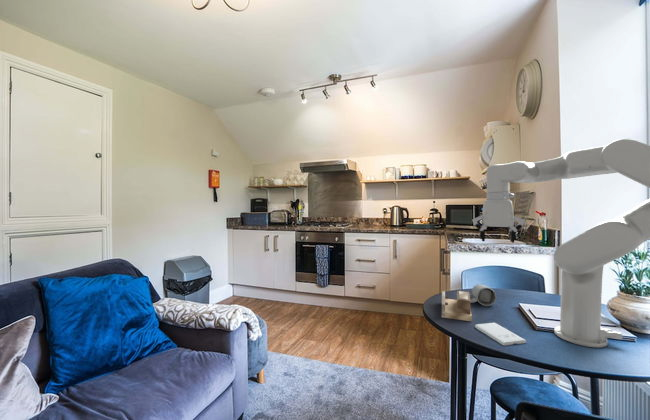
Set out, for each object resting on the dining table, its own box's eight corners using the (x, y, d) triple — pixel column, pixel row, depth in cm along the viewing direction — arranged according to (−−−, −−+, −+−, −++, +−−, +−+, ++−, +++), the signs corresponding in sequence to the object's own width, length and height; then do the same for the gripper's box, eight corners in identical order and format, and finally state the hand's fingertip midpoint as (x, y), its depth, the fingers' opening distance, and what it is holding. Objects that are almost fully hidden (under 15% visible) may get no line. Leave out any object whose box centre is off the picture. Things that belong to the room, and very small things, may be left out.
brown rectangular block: (468, 304, 114) (469, 291, 113) (470, 314, 104) (470, 300, 103) (457, 302, 115) (457, 290, 115) (457, 312, 105) (457, 298, 105)
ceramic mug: (488, 299, 124) (487, 282, 124) (496, 306, 116) (496, 288, 116) (462, 299, 126) (462, 282, 125) (469, 305, 118) (469, 287, 117)
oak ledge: (468, 305, 117) (468, 294, 117) (471, 321, 102) (471, 308, 102) (441, 302, 121) (442, 291, 121) (441, 317, 106) (441, 304, 106)
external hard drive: (495, 326, 99) (526, 344, 87) (474, 329, 98) (503, 347, 85) (495, 322, 99) (526, 339, 87) (474, 324, 98) (503, 342, 85)
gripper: (522, 196, 107) (521, 241, 108) (471, 197, 114) (471, 239, 114) (527, 196, 100) (527, 244, 101) (473, 197, 107) (473, 241, 107)
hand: (497, 241), depth 108 cm, fingers open, 9 cm apart
